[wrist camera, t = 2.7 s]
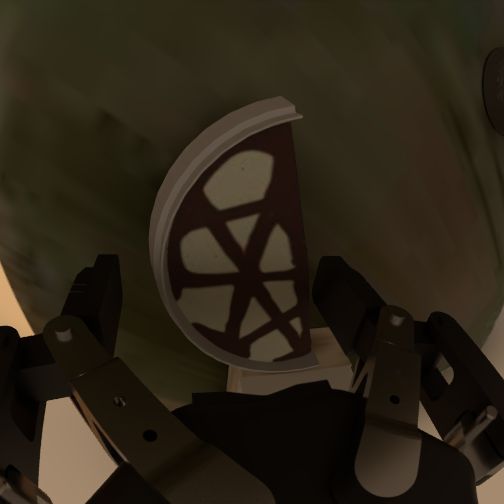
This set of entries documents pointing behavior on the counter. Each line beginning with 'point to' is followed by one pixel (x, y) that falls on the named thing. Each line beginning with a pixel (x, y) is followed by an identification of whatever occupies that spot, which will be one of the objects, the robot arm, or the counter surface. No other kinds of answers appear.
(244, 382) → the tower top block
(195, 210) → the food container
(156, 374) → the counter surface
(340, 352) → the tower base block
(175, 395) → the counter surface
